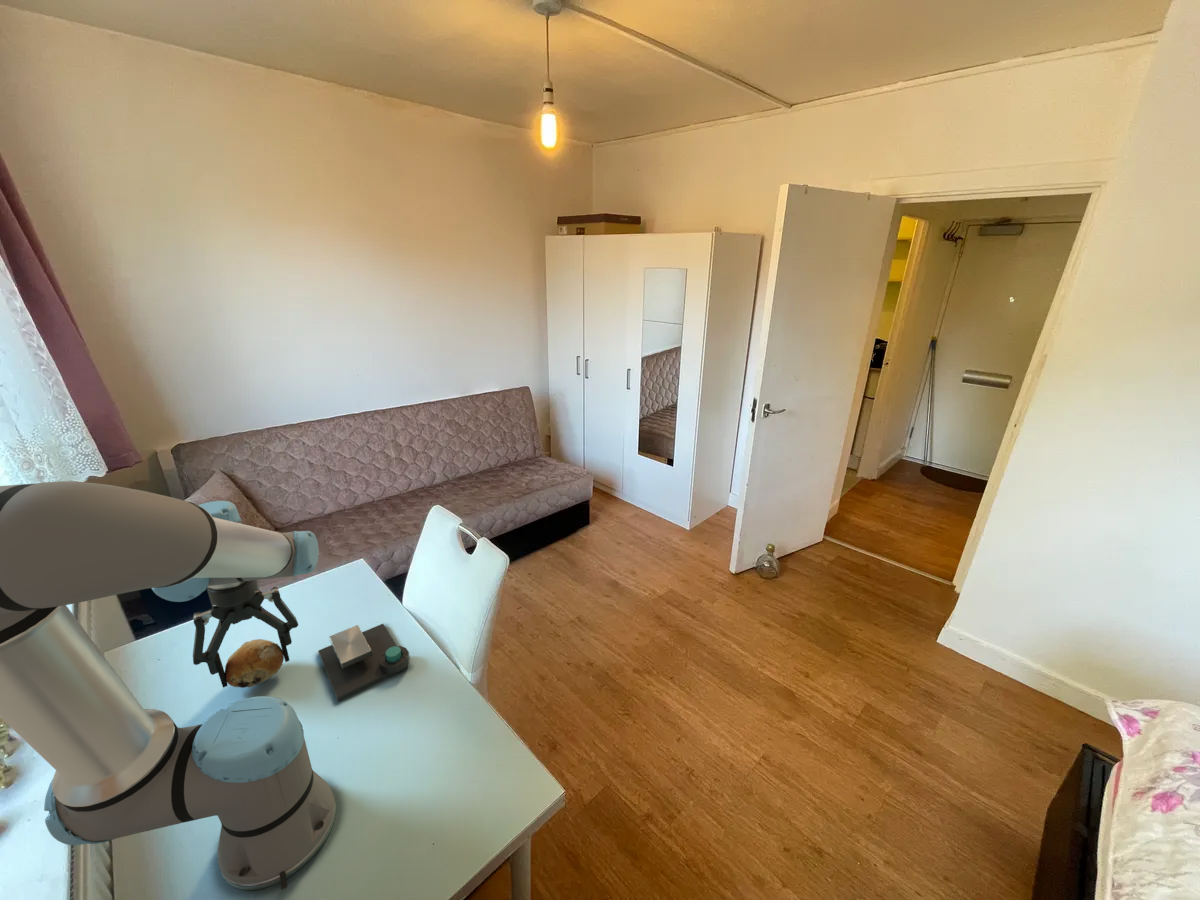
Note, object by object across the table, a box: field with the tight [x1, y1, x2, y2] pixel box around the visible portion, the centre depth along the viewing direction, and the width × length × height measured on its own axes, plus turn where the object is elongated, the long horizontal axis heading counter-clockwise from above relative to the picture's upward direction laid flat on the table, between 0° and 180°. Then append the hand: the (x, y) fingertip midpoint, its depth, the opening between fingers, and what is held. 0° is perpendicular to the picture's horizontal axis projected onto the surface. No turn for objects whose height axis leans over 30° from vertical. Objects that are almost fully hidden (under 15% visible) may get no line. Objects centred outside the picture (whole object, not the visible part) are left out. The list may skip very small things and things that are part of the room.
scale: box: [318, 623, 411, 702], centre depth 107 cm, size 17×15×3 cm
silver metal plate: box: [328, 624, 372, 669], centre depth 107 cm, size 10×6×2 cm, turn 40°
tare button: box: [386, 645, 401, 663], centre depth 105 cm, size 3×3×2 cm
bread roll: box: [224, 638, 285, 689], centre depth 100 cm, size 10×10×8 cm
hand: (256, 669), depth 101 cm, fingers closed on bread roll, 10 cm apart
